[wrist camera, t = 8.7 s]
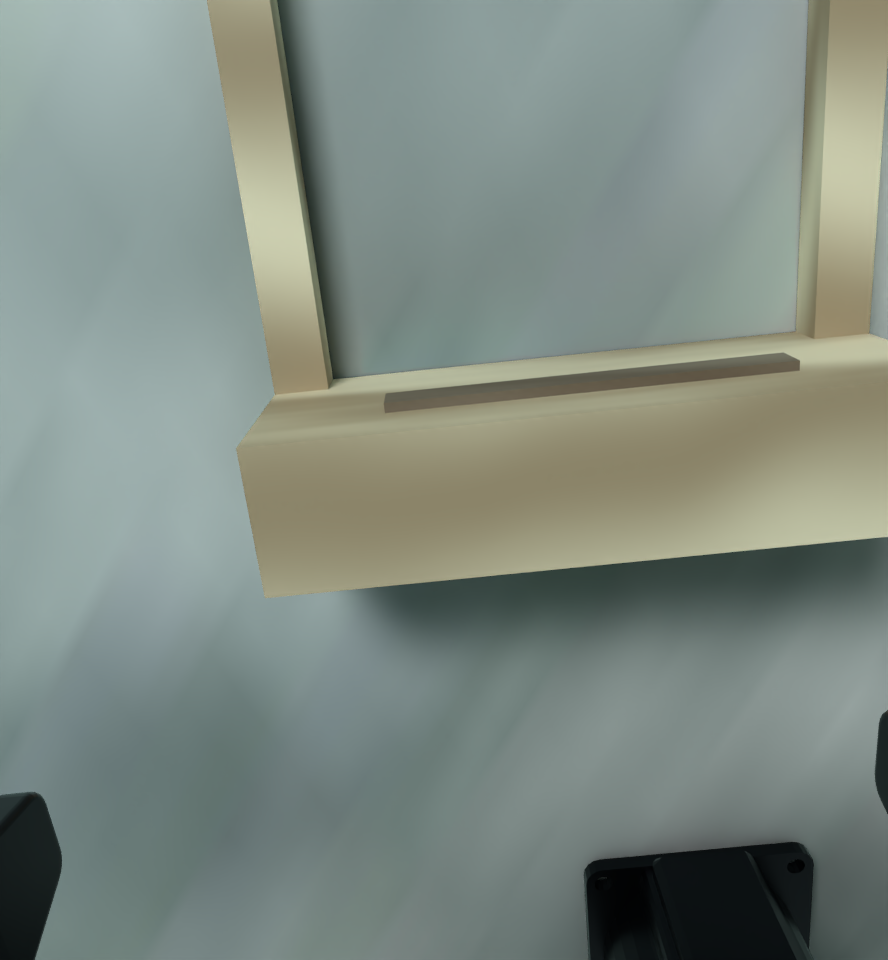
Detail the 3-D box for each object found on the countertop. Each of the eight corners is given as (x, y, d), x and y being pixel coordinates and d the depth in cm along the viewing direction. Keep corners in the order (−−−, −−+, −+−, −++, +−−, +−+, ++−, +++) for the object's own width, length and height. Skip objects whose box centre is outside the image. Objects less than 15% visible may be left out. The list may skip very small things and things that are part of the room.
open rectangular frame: (840, 449, 20) (963, 529, 16) (302, 503, 21) (264, 598, 16) (887, -339, 15) (1089, -569, 11) (174, -256, 16) (64, -443, 11)
